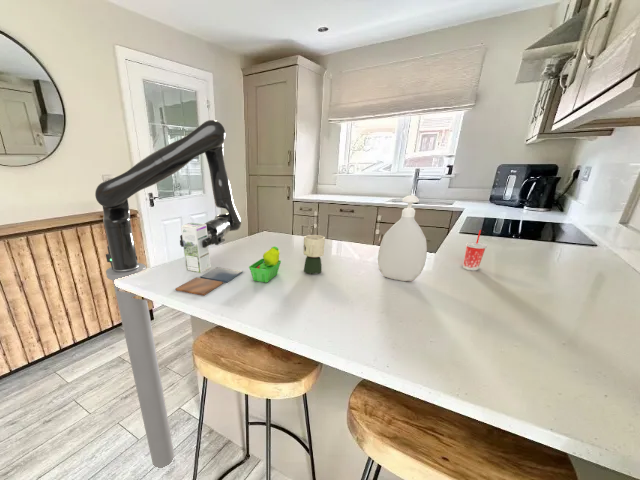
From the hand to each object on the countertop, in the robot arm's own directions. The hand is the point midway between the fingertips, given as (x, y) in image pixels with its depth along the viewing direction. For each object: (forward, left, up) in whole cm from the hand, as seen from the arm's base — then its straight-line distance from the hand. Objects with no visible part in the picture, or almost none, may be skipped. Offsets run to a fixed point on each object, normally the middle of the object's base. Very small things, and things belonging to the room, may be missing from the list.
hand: (192, 244), depth 93 cm
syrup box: (0, +2, -9) cm, 9 cm away
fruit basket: (+16, +18, -15) cm, 29 cm away
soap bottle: (+58, +35, -15) cm, 69 cm away
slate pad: (0, +14, -15) cm, 21 cm away
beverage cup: (+81, +55, -15) cm, 99 cm away
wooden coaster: (-1, +2, -15) cm, 15 cm away
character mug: (+30, +29, -15) cm, 44 cm away
